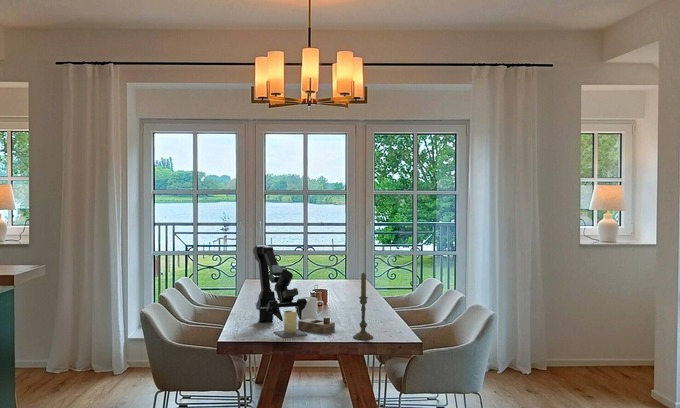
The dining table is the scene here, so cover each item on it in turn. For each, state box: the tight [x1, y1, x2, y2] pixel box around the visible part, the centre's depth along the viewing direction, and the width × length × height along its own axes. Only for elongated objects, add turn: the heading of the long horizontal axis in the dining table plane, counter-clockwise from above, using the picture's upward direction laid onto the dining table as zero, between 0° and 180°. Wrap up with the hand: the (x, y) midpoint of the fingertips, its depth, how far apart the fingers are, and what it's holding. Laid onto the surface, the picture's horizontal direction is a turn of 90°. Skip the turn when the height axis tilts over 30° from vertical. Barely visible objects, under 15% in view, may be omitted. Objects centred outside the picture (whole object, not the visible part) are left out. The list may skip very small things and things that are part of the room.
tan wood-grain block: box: [283, 309, 298, 334], centre depth 284 cm, size 3×5×10 cm, turn 117°
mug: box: [299, 296, 324, 320], centre depth 318 cm, size 12×9×11 cm
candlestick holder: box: [352, 271, 374, 341], centre depth 277 cm, size 9×9×30 cm
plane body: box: [297, 316, 336, 335], centre depth 293 cm, size 16×8×6 cm, turn 54°
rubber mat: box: [273, 328, 308, 339], centre depth 284 cm, size 12×12×1 cm
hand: (291, 320), depth 282 cm, fingers open, 9 cm apart
